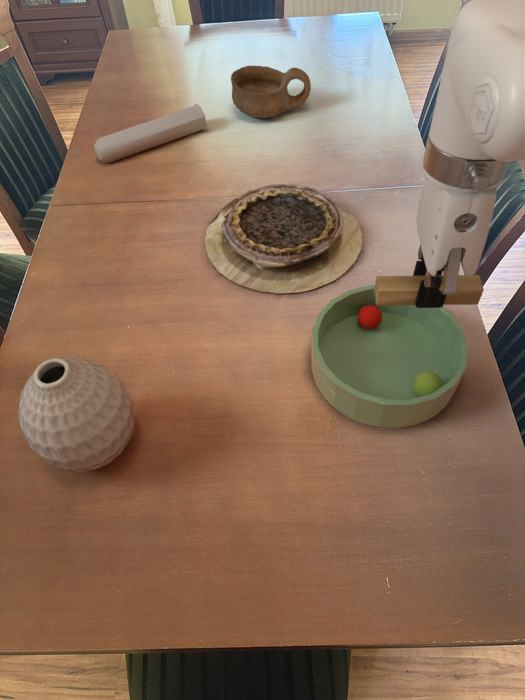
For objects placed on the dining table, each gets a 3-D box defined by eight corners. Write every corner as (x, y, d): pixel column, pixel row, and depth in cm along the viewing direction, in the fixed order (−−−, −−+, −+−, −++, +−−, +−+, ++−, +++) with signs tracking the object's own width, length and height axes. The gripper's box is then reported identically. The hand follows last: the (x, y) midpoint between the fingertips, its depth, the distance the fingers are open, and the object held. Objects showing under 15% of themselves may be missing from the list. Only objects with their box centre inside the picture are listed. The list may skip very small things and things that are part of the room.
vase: (150, 400, 72) (119, 323, 59) (139, 487, 64) (99, 421, 51) (60, 404, 72) (9, 328, 59) (38, 491, 64) (-27, 426, 51)
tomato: (381, 334, 76) (385, 318, 73) (357, 334, 76) (359, 318, 74) (379, 316, 78) (382, 299, 76) (355, 316, 79) (358, 300, 76)
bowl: (298, 81, 125) (302, 43, 115) (313, 124, 120) (318, 88, 110) (226, 92, 123) (225, 54, 113) (239, 136, 118) (238, 100, 108)
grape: (410, 386, 67) (423, 407, 68) (435, 373, 66) (449, 395, 66) (407, 375, 70) (420, 395, 71) (432, 362, 69) (445, 383, 70)
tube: (98, 153, 104) (206, 116, 111) (87, 135, 106) (195, 98, 112) (103, 171, 109) (206, 134, 116) (92, 153, 111) (195, 117, 117)
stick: (478, 304, 61) (484, 289, 59) (376, 305, 61) (378, 290, 59) (473, 289, 62) (479, 274, 60) (374, 290, 63) (376, 275, 61)
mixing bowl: (470, 429, 67) (484, 405, 62) (313, 427, 68) (314, 404, 63) (442, 311, 79) (452, 284, 75) (309, 312, 81) (310, 285, 76)
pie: (391, 254, 88) (396, 231, 84) (254, 319, 80) (252, 297, 76) (302, 176, 103) (302, 153, 99) (180, 224, 95) (175, 202, 91)
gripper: (533, 209, 42) (472, 348, 56) (487, 112, 52) (445, 251, 66) (440, 211, 42) (403, 348, 57) (412, 114, 52) (387, 252, 67)
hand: (426, 295), depth 61 cm, fingers closed on stick, 2 cm apart
